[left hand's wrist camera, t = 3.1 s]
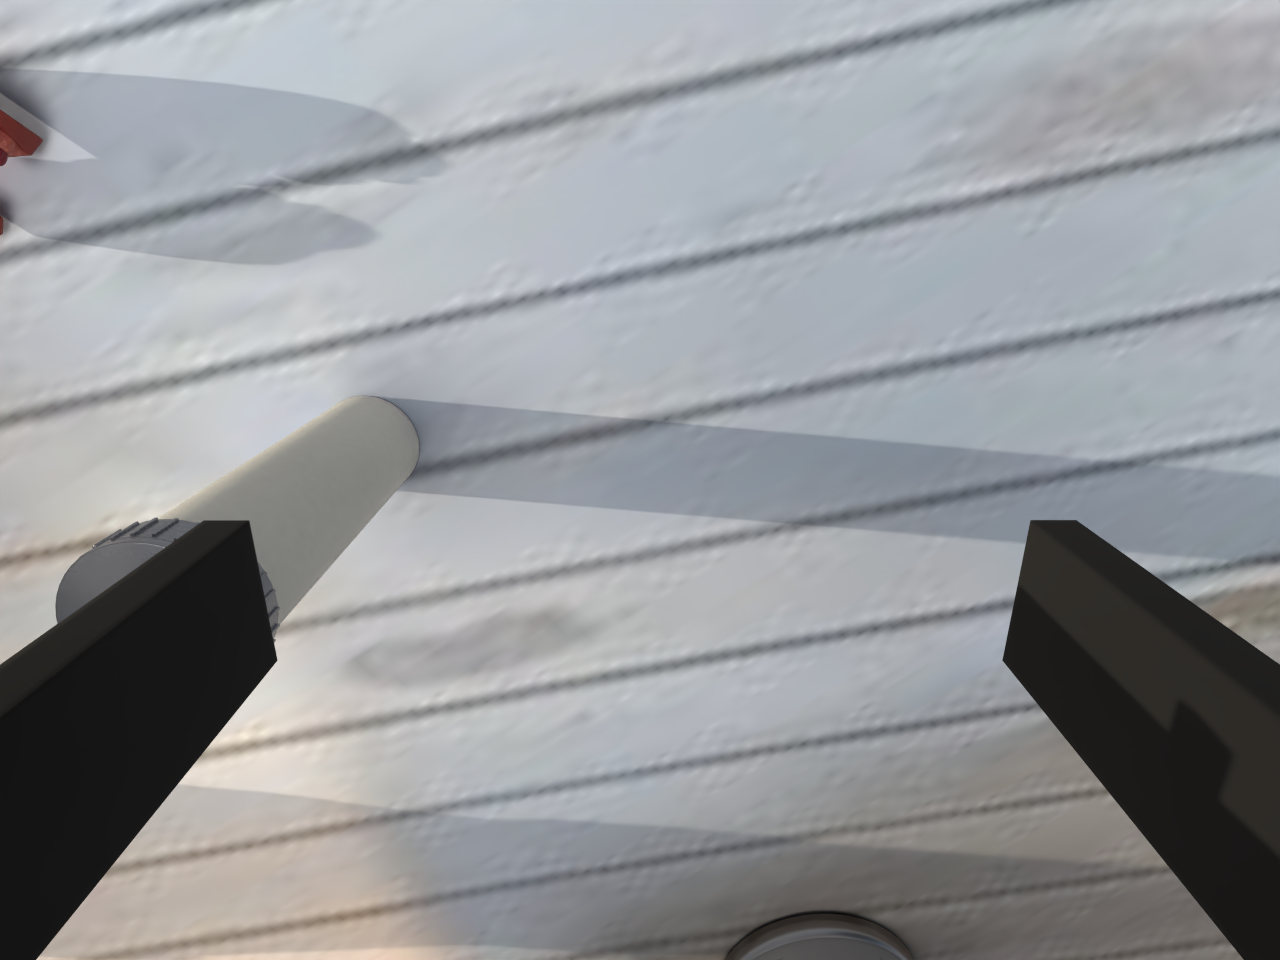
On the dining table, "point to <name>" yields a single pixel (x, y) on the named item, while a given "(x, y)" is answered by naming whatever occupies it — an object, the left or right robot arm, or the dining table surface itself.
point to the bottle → (313, 491)
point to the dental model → (15, 142)
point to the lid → (131, 565)
